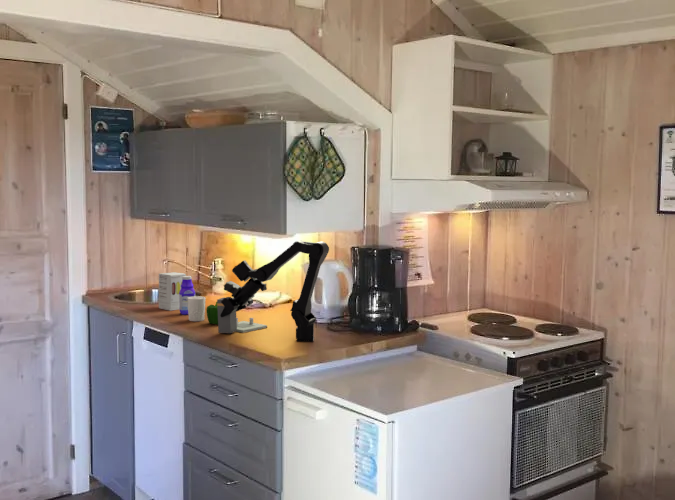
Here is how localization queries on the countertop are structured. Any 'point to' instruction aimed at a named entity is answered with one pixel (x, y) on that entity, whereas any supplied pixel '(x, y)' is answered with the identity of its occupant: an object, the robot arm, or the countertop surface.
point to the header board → (248, 326)
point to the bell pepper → (212, 314)
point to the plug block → (226, 320)
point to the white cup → (196, 308)
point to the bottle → (185, 294)
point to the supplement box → (169, 290)
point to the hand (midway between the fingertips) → (224, 315)
